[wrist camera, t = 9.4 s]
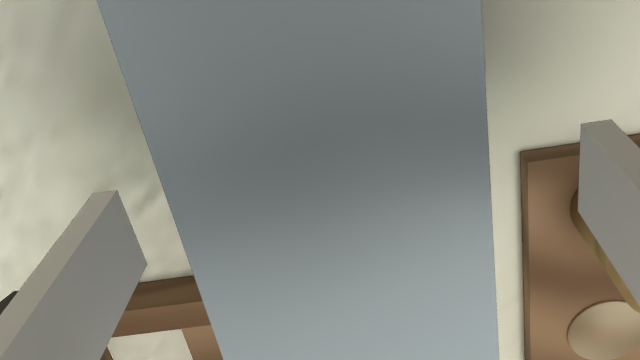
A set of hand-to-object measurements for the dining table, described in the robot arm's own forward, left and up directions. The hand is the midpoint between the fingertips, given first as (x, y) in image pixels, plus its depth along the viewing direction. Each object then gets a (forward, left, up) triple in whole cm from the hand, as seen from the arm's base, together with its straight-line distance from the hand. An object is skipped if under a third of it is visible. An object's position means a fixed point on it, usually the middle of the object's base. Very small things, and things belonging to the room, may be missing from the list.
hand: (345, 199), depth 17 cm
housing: (0, 0, -8) cm, 8 cm away
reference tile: (+9, +11, -8) cm, 16 cm away
